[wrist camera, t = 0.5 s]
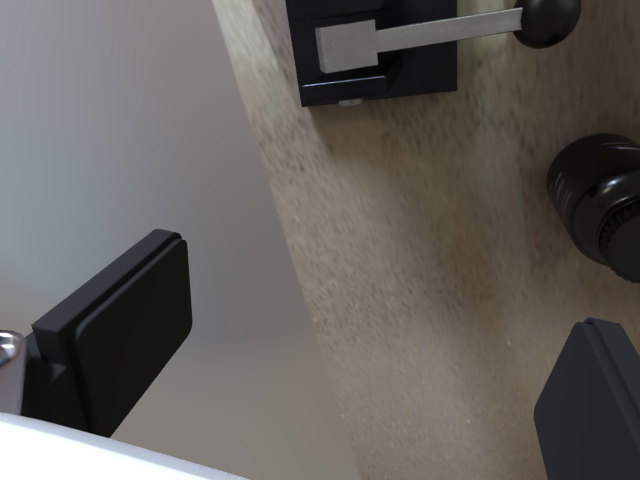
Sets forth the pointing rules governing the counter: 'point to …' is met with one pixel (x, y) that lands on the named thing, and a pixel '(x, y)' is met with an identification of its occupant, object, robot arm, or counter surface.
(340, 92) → the black lever stand
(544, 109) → the counter surface
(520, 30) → the tap lever
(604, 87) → the counter surface
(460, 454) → the counter surface
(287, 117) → the counter surface
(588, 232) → the supplement bottle
